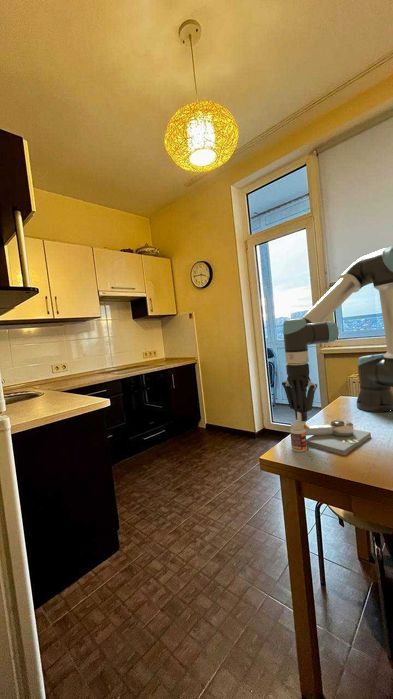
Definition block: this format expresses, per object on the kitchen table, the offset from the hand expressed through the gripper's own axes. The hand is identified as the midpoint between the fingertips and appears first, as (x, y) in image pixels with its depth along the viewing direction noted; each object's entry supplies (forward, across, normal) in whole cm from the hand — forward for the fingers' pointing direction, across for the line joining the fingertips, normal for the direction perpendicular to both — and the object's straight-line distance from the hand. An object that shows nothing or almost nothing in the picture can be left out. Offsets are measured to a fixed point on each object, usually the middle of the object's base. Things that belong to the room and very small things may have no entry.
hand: (302, 429), depth 102 cm
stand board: (+3, +10, +4) cm, 12 cm away
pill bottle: (+3, +4, -9) cm, 10 cm away
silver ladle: (+1, +7, +4) cm, 8 cm away
